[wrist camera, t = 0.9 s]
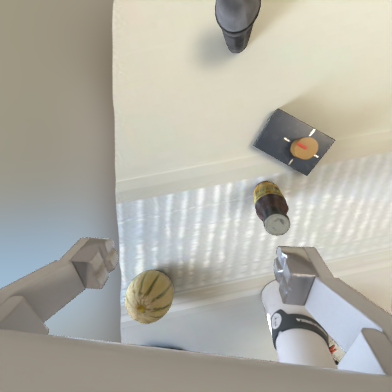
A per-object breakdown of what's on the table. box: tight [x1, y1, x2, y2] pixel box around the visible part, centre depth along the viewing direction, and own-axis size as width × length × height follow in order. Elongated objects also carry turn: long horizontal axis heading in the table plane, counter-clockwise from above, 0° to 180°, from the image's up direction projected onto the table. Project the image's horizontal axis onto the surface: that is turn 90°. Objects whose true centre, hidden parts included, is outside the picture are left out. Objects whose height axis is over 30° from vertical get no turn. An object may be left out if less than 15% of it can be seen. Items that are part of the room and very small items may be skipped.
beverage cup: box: [215, 0, 261, 53], centre depth 32 cm, size 7×7×20 cm
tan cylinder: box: [290, 137, 318, 159], centre depth 40 cm, size 4×4×4 cm
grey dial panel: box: [253, 109, 335, 176], centre depth 43 cm, size 14×9×3 cm, turn 62°
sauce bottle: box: [254, 181, 290, 236], centre depth 40 cm, size 6×6×20 cm
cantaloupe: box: [125, 270, 174, 324], centre depth 58 cm, size 15×15×15 cm
